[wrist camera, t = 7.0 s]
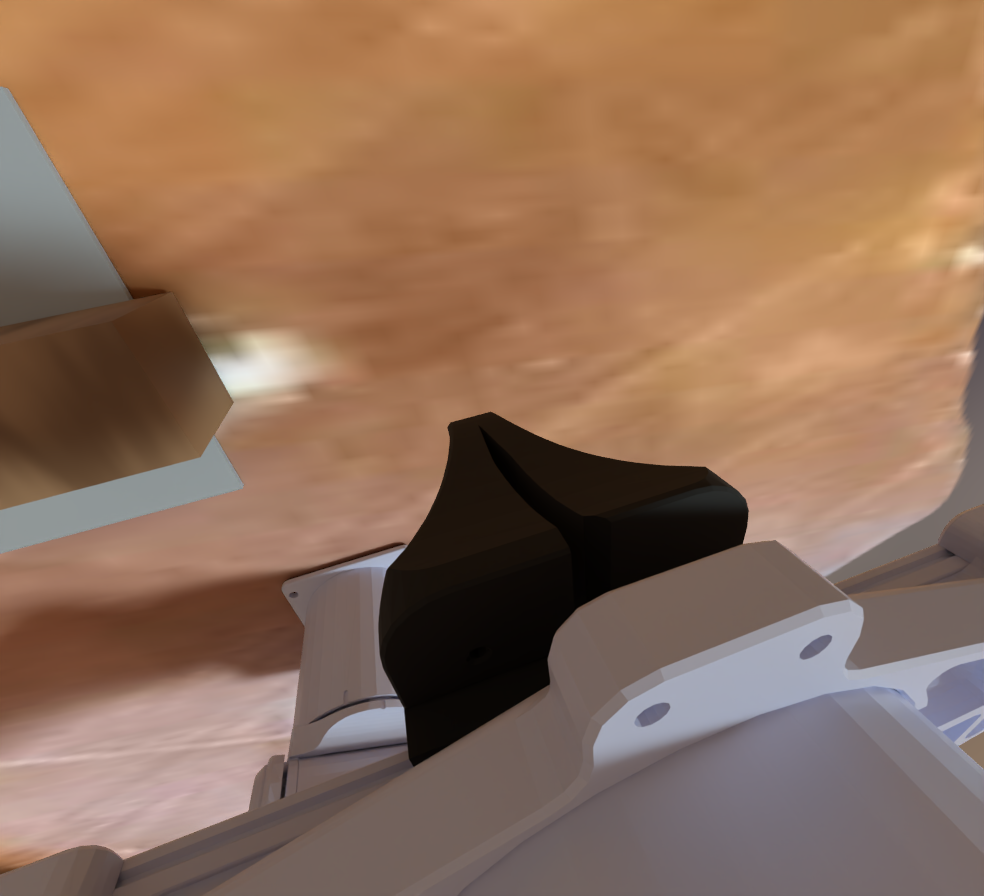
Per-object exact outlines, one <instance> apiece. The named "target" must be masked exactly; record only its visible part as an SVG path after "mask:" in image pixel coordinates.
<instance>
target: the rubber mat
mask: <svg viewBox="0 0 984 896" xmlns="http://www.w3.org/2000/svg"><path fill="white" fill-rule="evenodd" d="M129 300H133V298H132V296H131V295H130V293H129V291H128V289H127V288H126V286H125V284H124V283H123V281H122V279H121V278H120V276H119V274H118V273H117V271H116V269H115V268H114V266H113V264H112V263H111V261H110V259H109V257H108V256H107V254H106V252H105V251H104V249H103V247H102V246H101V244H100V242H99V241H98V239H97V237H96V236H95V234H94V232H93V231H92V229H91V227H90V226H89V224H88V222H87V220H86V219H85V217H84V215H83V214H82V212H81V210H80V209H79V207H78V205H77V204H76V202H75V200H74V199H73V197H72V195H71V194H70V192H69V190H68V188H67V187H66V185H65V183H64V182H63V180H62V178H61V177H60V175H59V173H58V172H57V170H56V168H55V167H54V165H53V163H52V162H51V160H50V158H49V157H48V155H47V153H46V151H45V150H44V148H43V146H42V145H41V143H40V141H39V140H38V138H37V136H36V135H35V133H34V131H33V130H32V128H31V126H30V125H29V123H28V121H27V119H26V118H25V116H24V114H23V113H22V111H21V109H20V108H19V106H18V104H17V103H16V101H15V99H14V98H13V96H12V94H11V93H10V91H9V89H7V88H4V87H0V327H2V326H7V325H11V324H16V323H21V322H26V321H31V320H36V319H41V318H46V317H50V316H55V315H60V314H65V313H70V312H75V311H80V310H85V309H89V308H94V307H99V306H104V305H109V304H114V303H119V302H124V301H129ZM243 486H244V485H243V483H242V481H241V480H240V478H239V476H238V475H237V473H236V471H235V470H234V468H233V466H232V464H231V463H230V461H229V459H228V458H227V456H226V454H225V453H224V451H223V449H222V448H221V446H220V444H219V443H218V441H217V439H216V438H215V436H213V437H212V439H211V441H210V442H209V444H208V446H207V447H206V449H205V451H204V452H203V454H202V456H201V457H200V458H196V459H192V460H188V461H185V462H181V463H177V464H173V465H170V466H166V467H162V468H158V469H154V470H151V471H147V472H143V473H139V474H135V475H132V476H128V477H124V478H120V479H116V480H113V481H109V482H105V483H101V484H98V485H94V486H90V487H86V488H82V489H79V490H75V491H71V492H67V493H63V494H60V495H56V496H52V497H48V498H45V499H41V500H37V501H33V502H29V503H26V504H22V505H18V506H14V507H10V508H7V509H3V510H0V554H1V553H5V552H8V551H12V550H16V549H19V548H23V547H27V546H31V545H34V544H38V543H42V542H46V541H49V540H53V539H57V538H60V537H64V536H68V535H72V534H75V533H79V532H83V531H87V530H90V529H94V528H98V527H101V526H105V525H109V524H113V523H116V522H120V521H124V520H128V519H131V518H135V517H139V516H142V515H146V514H150V513H154V512H157V511H161V510H165V509H168V508H172V507H176V506H180V505H183V504H187V503H191V502H195V501H198V500H202V499H206V498H209V497H213V496H217V495H221V494H224V493H228V492H232V491H236V490H239V489H243Z"/></svg>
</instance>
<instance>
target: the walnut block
mask: <svg viewBox="0 0 984 896" xmlns="http://www.w3.org/2000/svg"><path fill="white" fill-rule="evenodd" d="M233 403H234V402H233V401H232V399H231V397H230V395H229V393H228V391H227V390H226V388H225V386H224V384H223V382H222V381H221V379H220V377H219V375H218V373H217V372H216V370H215V368H214V366H213V364H212V363H211V361H210V359H209V357H208V355H207V354H206V352H205V350H204V348H203V346H202V345H201V343H200V341H199V339H198V337H197V335H196V334H195V332H194V330H193V328H192V326H191V325H190V323H189V321H188V319H187V317H186V316H185V314H184V312H183V310H182V308H181V307H180V305H179V303H178V301H177V299H176V298H175V296H174V294H173V292H168V293H163V294H158V295H153V296H148V297H143V298H138V299H133V300H129V301H124V302H119V303H114V304H109V305H104V306H99V307H94V308H89V309H85V310H80V311H75V312H70V313H65V314H60V315H55V316H50V317H46V318H41V319H36V320H31V321H26V322H21V323H16V324H11V325H7V326H2V327H0V510H3V509H7V508H10V507H14V506H18V505H22V504H26V503H29V502H33V501H37V500H41V499H45V498H48V497H52V496H56V495H60V494H63V493H67V492H71V491H75V490H79V489H82V488H86V487H90V486H94V485H98V484H101V483H105V482H109V481H113V480H116V479H120V478H124V477H128V476H132V475H135V474H139V473H143V472H147V471H151V470H154V469H158V468H162V467H166V466H170V465H173V464H177V463H181V462H185V461H188V460H192V459H196V458H200V457H201V456H202V454H203V452H204V451H205V449H206V447H207V446H208V444H209V442H210V441H211V439H212V437H213V436H214V434H215V433H216V431H217V429H218V428H219V426H220V424H221V423H222V421H223V419H224V418H225V416H226V414H227V413H228V411H229V409H230V408H231V406H232V404H233Z"/></svg>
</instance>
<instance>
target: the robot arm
mask: <svg viewBox="0 0 984 896" xmlns="http://www.w3.org/2000/svg"><path fill="white" fill-rule="evenodd" d="M448 431H449V436H450V446H449V454H448V461H447V465H446V469H445V473H444V477H443V480H442V483H441V486H440V489H439V492H438V494H437V497H436V499H435V501H434V503H433V505H432V507H431V510H430V512H429V514H428V515H427V517H426V519H425V521H424V522H423V524H422V525H421V527H420V529H419V530H418V532H417V533H416V535H415V536H414V538H413V539H412V541H411V542H410V543H409V545H401V546H397V547H394V548H391V549H388V550H384V551H381V552H378V553H375V554H371V555H368V556H365V557H362V558H358V559H355V560H352V561H348V562H345V563H342V564H339V565H335V566H332V567H329V568H326V569H322V570H319V571H316V572H313V573H309V574H306V575H303V576H300V577H296V578H293V579H290V580H287V581H285V582H284V583H283V585H282V589H281V590H282V592H283V594H284V595H285V597H286V599H287V600H288V602H289V603H290V605H291V606H292V608H293V609H294V611H295V613H296V614H297V616H298V617H299V619H300V620H301V622H302V623H303V625H304V627H305V630H304V639H303V647H302V656H301V664H300V673H299V681H298V690H297V698H296V707H295V715H294V724H293V729H292V734H291V740H290V746H289V752H288V758H287V762H284V757H285V755H275V756H272V757H271V758H270V759H269V762H268V765H265V766H264V767H263V768H262V769H261V770H260V771H259V772H258V774H257V775H256V777H255V780H254V785H253V790H252V795H251V800H250V806H249V811H248V812H246V813H243V814H240V815H238V816H235V817H233V818H230V819H228V820H225V821H222V822H220V823H217V824H215V825H212V826H210V827H207V828H204V829H202V830H199V831H197V832H194V833H192V834H189V835H186V836H184V837H181V838H179V839H176V840H173V841H171V842H168V843H166V844H163V845H161V846H158V847H155V848H153V849H150V850H148V851H145V852H143V853H140V854H137V855H135V856H132V857H130V858H127V859H125V860H123V859H122V858H121V857H120V856H119V855H118V854H116V853H115V852H114V851H112V850H110V849H108V848H106V847H102V846H97V845H91V846H80V847H76V848H72V849H68V850H65V851H62V852H60V853H57V854H54V855H52V856H49V857H46V858H44V859H41V860H39V861H36V862H33V863H31V864H28V865H25V866H23V867H20V868H17V869H15V870H12V871H9V872H7V873H4V874H1V875H0V896H984V769H983V768H982V767H981V766H980V765H978V764H977V763H976V762H975V761H974V760H973V759H972V758H971V757H969V756H968V755H967V754H966V753H965V752H964V751H963V750H962V749H961V748H959V747H958V746H959V745H961V744H963V743H964V742H966V741H968V740H969V739H971V738H973V737H975V736H976V735H978V734H980V733H982V732H983V731H984V504H982V505H980V506H977V507H974V508H971V509H969V510H966V511H964V512H962V513H960V514H958V515H957V516H955V517H954V518H953V519H952V520H951V521H950V522H949V523H948V524H947V525H946V527H945V528H944V530H943V532H942V533H941V535H940V537H939V539H938V544H936V545H933V546H931V547H928V548H926V549H923V550H920V551H918V552H915V553H913V554H910V555H908V556H905V557H903V558H900V559H897V560H895V561H892V562H890V563H887V564H884V565H882V566H880V567H877V568H874V569H872V570H869V571H866V572H864V573H861V574H859V575H856V576H854V577H851V578H848V579H846V580H843V581H841V582H838V583H835V584H832V583H831V582H830V581H828V580H827V579H826V578H825V577H823V576H822V575H821V574H820V573H818V572H817V571H816V570H815V569H813V568H812V567H811V566H810V565H808V564H807V563H806V562H805V561H803V560H802V559H801V558H800V557H798V556H797V555H796V554H795V553H793V552H792V551H791V550H789V549H788V548H786V547H785V546H783V545H782V544H780V543H779V542H777V541H776V540H773V541H762V542H755V543H748V544H743V540H744V537H745V533H746V529H747V522H748V512H749V510H748V507H747V503H746V499H745V498H744V497H743V496H742V495H741V494H740V493H739V491H737V490H736V489H735V488H733V487H732V486H731V485H729V484H728V483H727V482H725V481H724V480H723V479H721V478H720V477H719V476H717V475H716V474H715V473H713V472H712V471H711V470H709V469H708V468H706V467H694V466H664V465H653V464H643V463H634V462H627V461H621V460H615V459H610V458H605V457H600V456H596V455H592V454H588V453H584V452H581V451H577V450H574V449H571V448H567V447H565V446H562V445H559V444H556V443H554V442H551V441H549V440H546V439H544V438H542V437H539V436H537V435H535V434H533V433H531V432H529V431H527V430H525V429H523V428H521V427H519V426H517V425H515V424H513V423H511V422H509V421H507V420H506V419H504V418H502V417H500V416H498V415H496V414H495V413H493V412H488V413H485V414H481V415H477V416H473V417H470V418H466V419H462V420H458V421H455V422H451V423H450V424H449V426H448ZM292 592H297V593H292Z"/></svg>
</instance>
